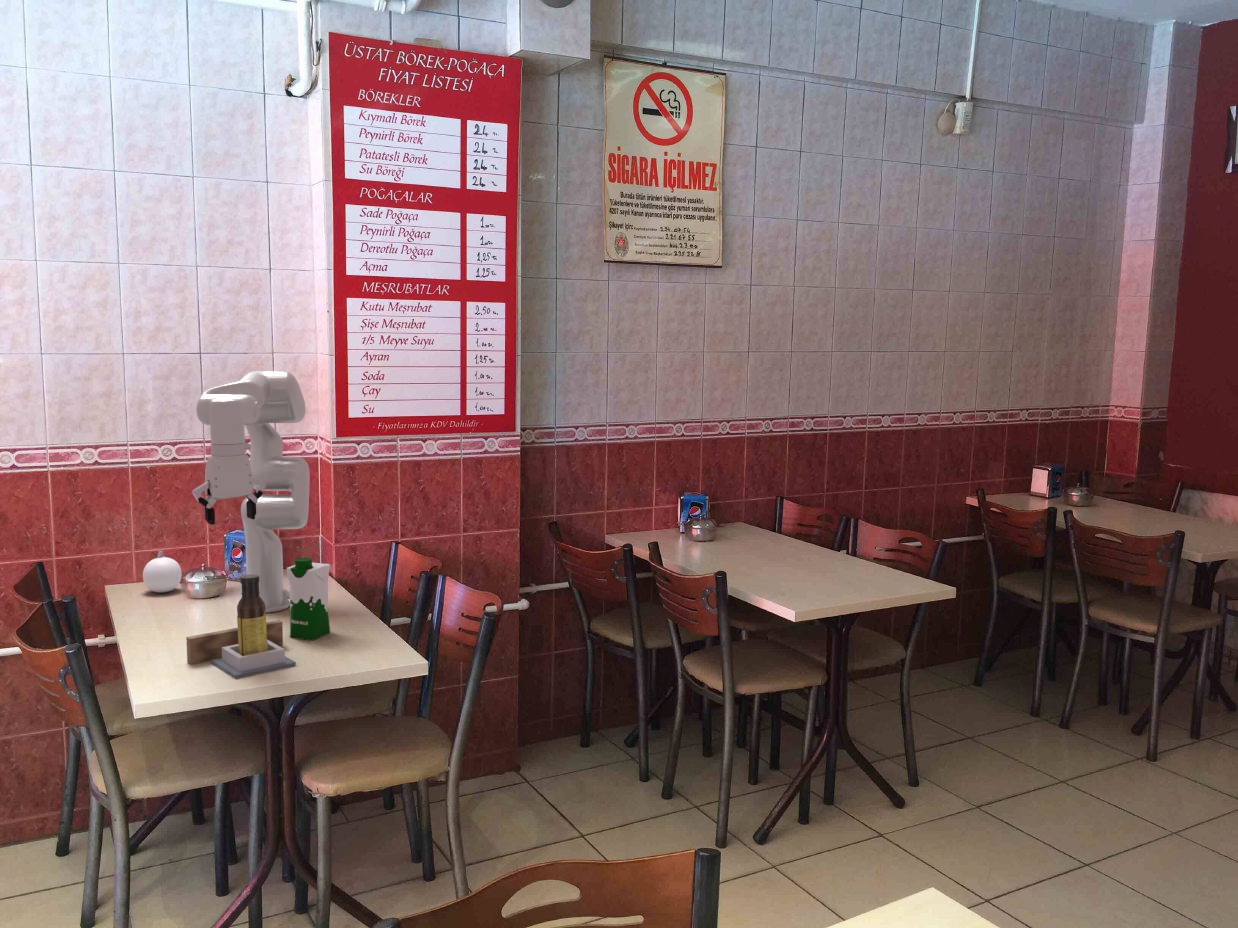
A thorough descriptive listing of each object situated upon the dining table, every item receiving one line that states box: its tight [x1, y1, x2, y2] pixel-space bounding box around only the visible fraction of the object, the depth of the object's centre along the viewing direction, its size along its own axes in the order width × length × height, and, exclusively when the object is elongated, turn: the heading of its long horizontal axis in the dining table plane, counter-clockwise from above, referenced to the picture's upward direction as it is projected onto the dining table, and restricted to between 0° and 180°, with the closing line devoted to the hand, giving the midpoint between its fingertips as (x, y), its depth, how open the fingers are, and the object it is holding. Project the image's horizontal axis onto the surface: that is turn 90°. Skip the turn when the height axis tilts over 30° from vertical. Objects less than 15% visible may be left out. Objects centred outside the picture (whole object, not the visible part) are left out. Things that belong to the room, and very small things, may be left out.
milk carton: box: [286, 557, 331, 641], centre depth 251 cm, size 9×9×20 cm
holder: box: [210, 640, 297, 680], centre depth 229 cm, size 14×14×4 cm
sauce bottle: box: [236, 574, 268, 656], centre depth 228 cm, size 6×6×20 cm
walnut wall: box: [185, 619, 284, 665], centre depth 236 cm, size 22×2×6 cm, turn 132°
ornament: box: [142, 550, 183, 594], centre depth 291 cm, size 10×10×12 cm
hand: (231, 521), depth 239 cm, fingers open, 9 cm apart
